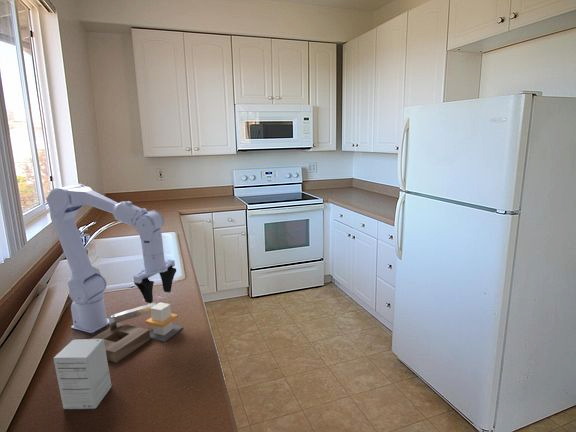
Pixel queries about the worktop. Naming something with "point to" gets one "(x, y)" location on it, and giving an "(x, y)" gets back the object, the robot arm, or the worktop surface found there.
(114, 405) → the worktop surface
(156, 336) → the mat
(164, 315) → the plug
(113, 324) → the light grey long bar
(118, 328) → the socket block
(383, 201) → the worktop surface
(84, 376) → the supplement box
